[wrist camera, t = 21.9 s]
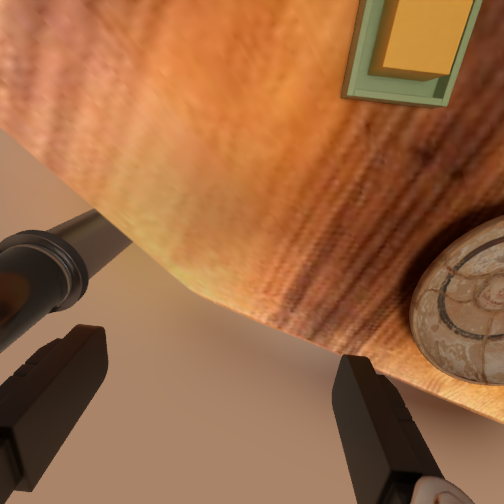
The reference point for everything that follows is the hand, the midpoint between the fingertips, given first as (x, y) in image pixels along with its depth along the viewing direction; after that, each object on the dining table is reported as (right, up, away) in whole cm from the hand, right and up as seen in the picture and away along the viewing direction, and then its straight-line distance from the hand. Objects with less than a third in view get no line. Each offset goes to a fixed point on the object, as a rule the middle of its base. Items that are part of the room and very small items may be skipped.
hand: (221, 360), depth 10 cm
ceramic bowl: (+31, -1, +26) cm, 41 cm away
